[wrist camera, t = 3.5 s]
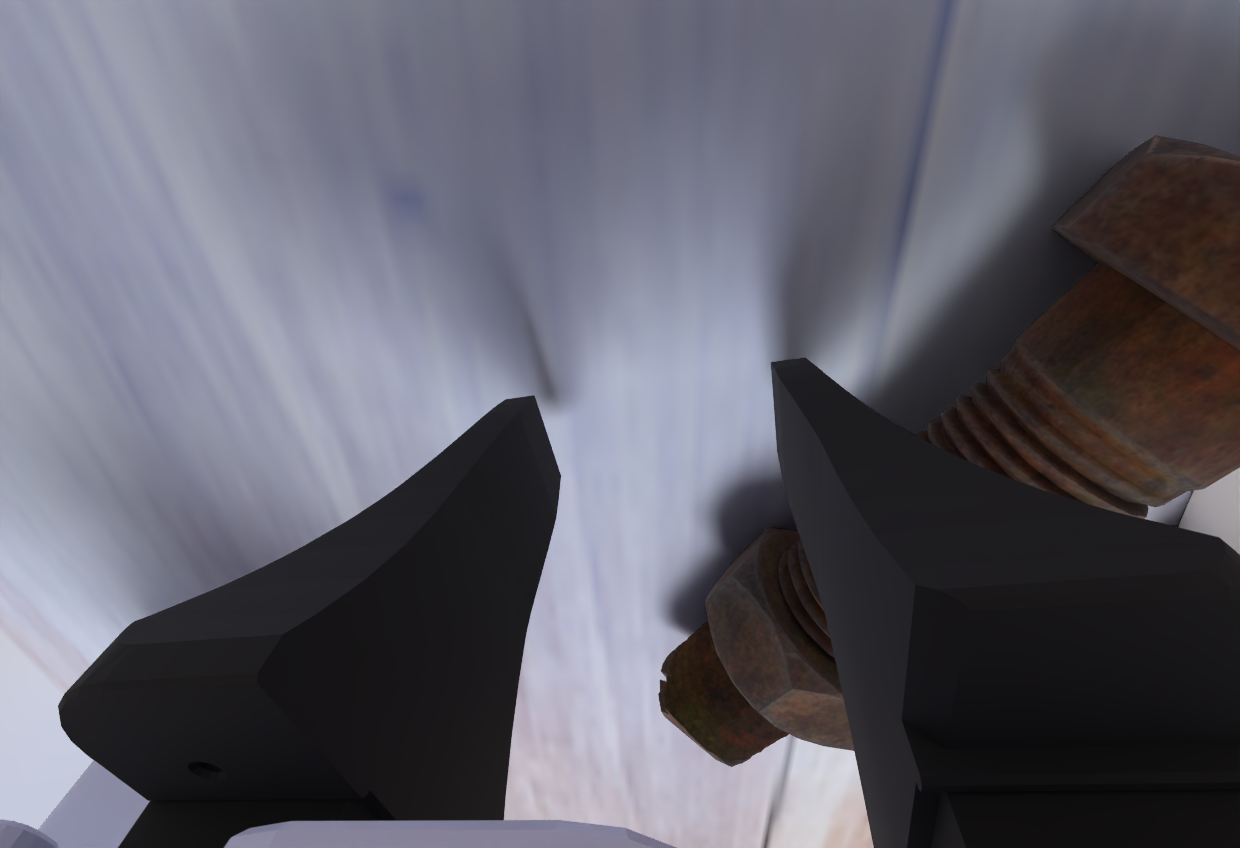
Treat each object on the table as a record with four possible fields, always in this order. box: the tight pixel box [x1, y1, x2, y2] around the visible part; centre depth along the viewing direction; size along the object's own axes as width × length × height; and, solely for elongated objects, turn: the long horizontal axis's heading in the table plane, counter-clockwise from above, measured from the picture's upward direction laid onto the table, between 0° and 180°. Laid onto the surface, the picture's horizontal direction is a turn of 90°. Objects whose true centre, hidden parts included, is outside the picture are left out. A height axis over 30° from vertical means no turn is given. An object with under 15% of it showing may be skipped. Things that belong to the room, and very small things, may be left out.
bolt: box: [658, 136, 1240, 767], centre depth 12 cm, size 6×5×15 cm
